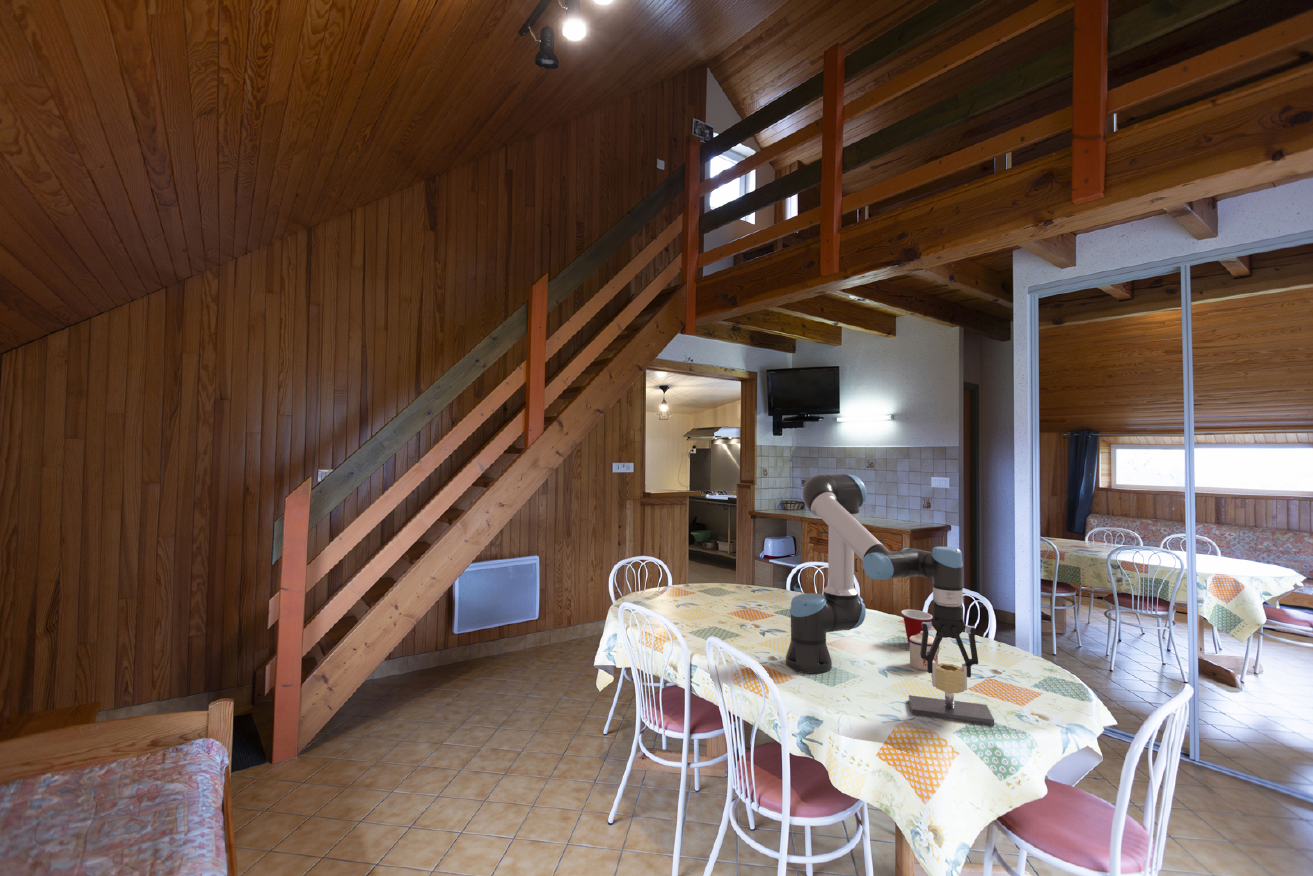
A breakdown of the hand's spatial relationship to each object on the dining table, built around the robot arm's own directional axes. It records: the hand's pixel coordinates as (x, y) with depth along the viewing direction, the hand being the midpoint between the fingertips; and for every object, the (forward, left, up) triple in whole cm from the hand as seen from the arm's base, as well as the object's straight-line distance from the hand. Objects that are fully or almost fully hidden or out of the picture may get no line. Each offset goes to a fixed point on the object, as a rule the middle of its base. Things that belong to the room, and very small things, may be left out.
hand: (949, 686), depth 164 cm
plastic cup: (-3, +61, -7) cm, 62 cm away
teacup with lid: (-2, +38, -7) cm, 39 cm away
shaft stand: (0, 0, -7) cm, 7 cm away
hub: (0, 0, 0) cm, 0 cm away
